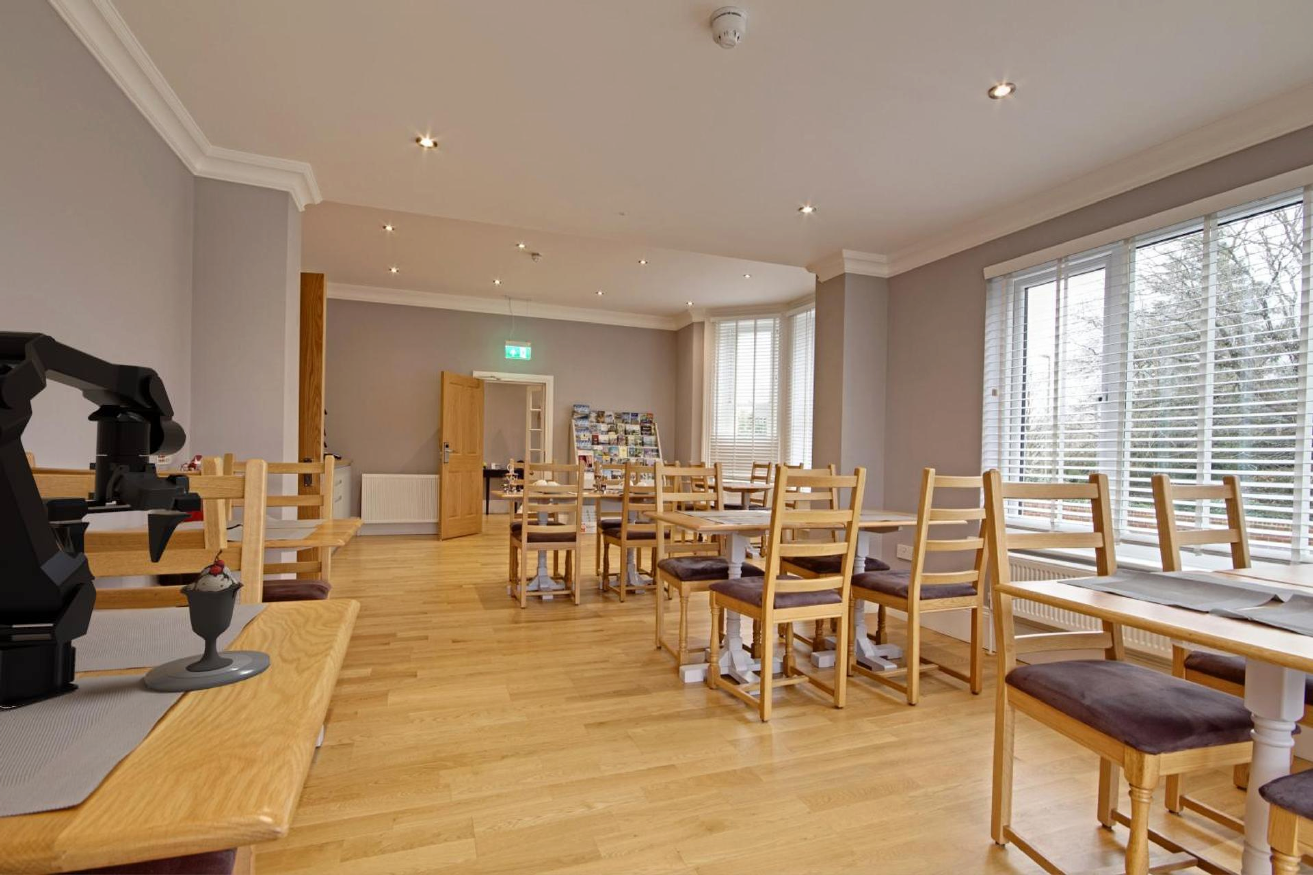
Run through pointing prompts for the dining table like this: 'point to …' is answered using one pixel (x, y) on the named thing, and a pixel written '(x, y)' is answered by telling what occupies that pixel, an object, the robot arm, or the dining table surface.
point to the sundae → (211, 611)
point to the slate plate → (206, 672)
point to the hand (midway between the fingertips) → (118, 567)
